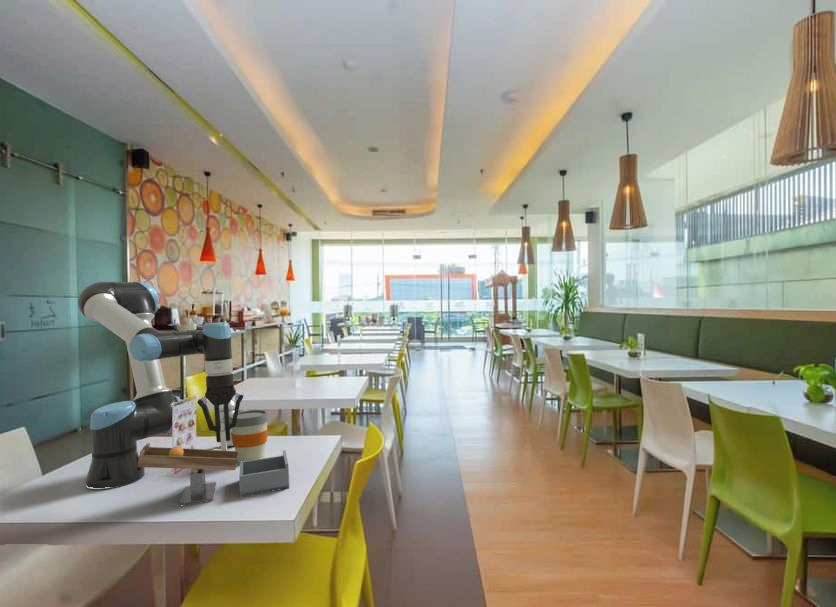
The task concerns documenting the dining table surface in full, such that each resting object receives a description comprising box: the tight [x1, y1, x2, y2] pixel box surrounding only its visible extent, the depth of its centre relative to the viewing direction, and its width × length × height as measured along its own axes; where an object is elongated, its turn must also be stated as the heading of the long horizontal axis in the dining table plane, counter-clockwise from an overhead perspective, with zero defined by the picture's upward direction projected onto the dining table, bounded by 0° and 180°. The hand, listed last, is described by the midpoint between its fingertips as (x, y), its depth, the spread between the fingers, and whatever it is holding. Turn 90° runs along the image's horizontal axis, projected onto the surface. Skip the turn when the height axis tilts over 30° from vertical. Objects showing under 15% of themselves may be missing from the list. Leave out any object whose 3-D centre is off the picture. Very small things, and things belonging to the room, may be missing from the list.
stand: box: [178, 469, 217, 507], centre depth 127 cm, size 12×8×7 cm, turn 20°
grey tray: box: [238, 450, 290, 497], centre depth 132 cm, size 13×13×7 cm
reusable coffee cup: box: [230, 409, 269, 462], centre depth 157 cm, size 13×12×15 cm
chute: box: [137, 442, 238, 474], centre depth 129 cm, size 17×24×5 cm
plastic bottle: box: [219, 398, 236, 448], centre depth 171 cm, size 6×7×20 cm
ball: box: [169, 445, 184, 456], centre depth 125 cm, size 4×4×4 cm
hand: (224, 452), depth 136 cm, fingers closed
